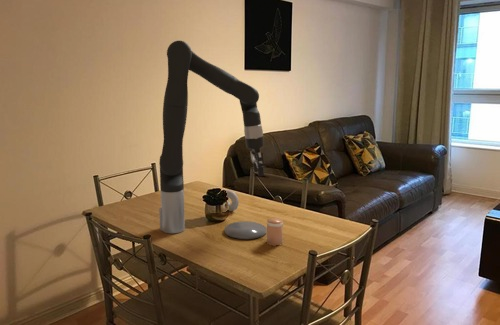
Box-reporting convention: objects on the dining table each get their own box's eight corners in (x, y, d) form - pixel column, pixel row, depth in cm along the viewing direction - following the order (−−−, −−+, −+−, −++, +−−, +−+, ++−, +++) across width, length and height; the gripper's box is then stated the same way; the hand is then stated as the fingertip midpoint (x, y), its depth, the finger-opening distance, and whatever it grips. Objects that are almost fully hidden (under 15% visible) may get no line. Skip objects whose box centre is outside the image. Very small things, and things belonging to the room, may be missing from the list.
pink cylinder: (264, 244, 158) (265, 222, 156) (268, 238, 164) (269, 217, 162) (280, 246, 156) (281, 224, 155) (284, 240, 162) (284, 218, 160)
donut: (219, 209, 198) (219, 189, 196) (224, 207, 201) (224, 187, 199) (235, 214, 192) (235, 193, 190) (240, 212, 195) (240, 191, 193)
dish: (218, 237, 165) (218, 233, 165) (232, 222, 181) (232, 219, 181) (259, 242, 160) (259, 238, 160) (270, 227, 176) (270, 224, 176)
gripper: (241, 134, 177) (246, 171, 181) (248, 140, 164) (253, 179, 167) (259, 132, 179) (263, 168, 182) (267, 137, 165) (271, 176, 169)
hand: (258, 173), depth 175 cm, fingers open, 8 cm apart
